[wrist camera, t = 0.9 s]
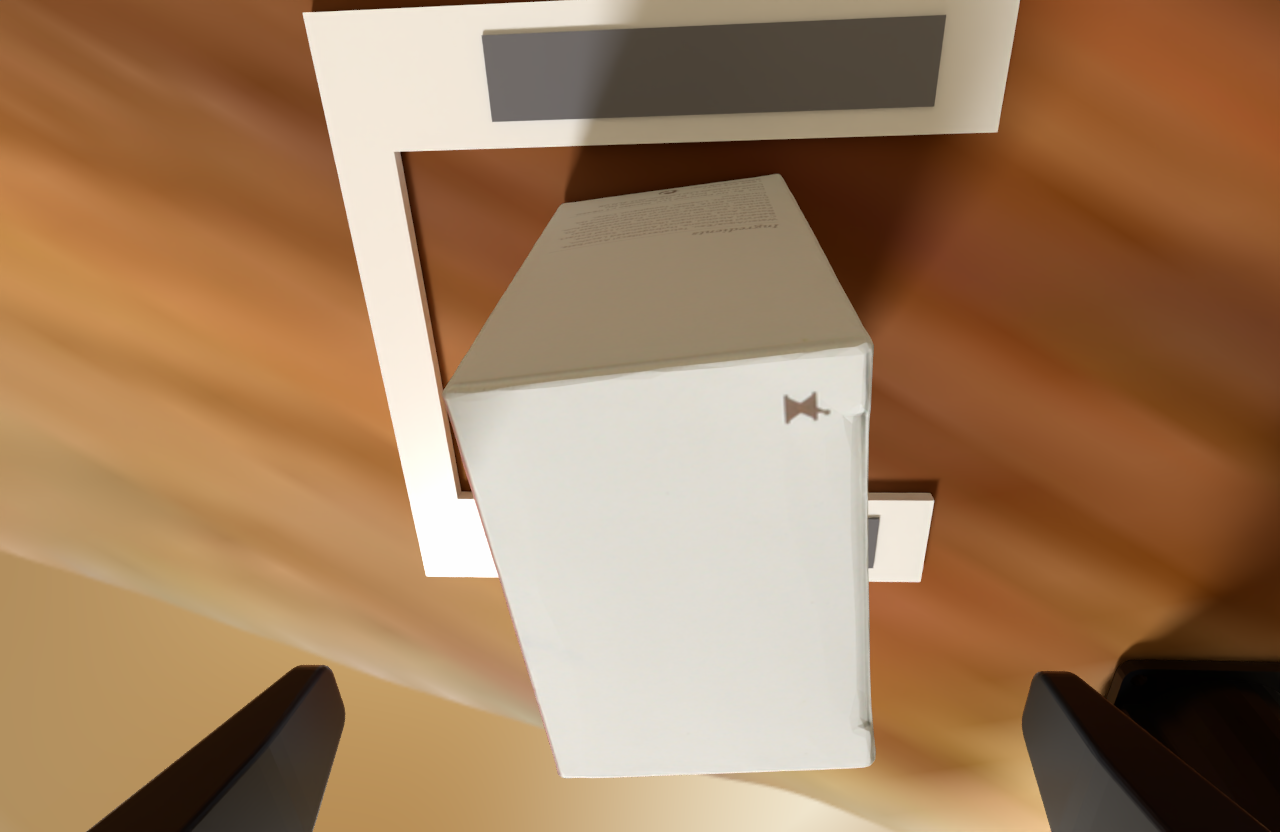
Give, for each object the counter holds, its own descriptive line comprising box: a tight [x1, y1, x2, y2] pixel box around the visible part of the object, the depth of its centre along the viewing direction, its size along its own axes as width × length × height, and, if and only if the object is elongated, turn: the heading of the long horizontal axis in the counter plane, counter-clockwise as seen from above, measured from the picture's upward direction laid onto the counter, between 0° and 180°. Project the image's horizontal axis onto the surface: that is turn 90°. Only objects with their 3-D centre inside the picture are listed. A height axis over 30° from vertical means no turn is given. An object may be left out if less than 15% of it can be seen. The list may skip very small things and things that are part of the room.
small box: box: [442, 174, 876, 778], centre depth 16 cm, size 8×6×10 cm
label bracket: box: [303, 0, 1020, 582], centre depth 20 cm, size 16×16×1 cm
